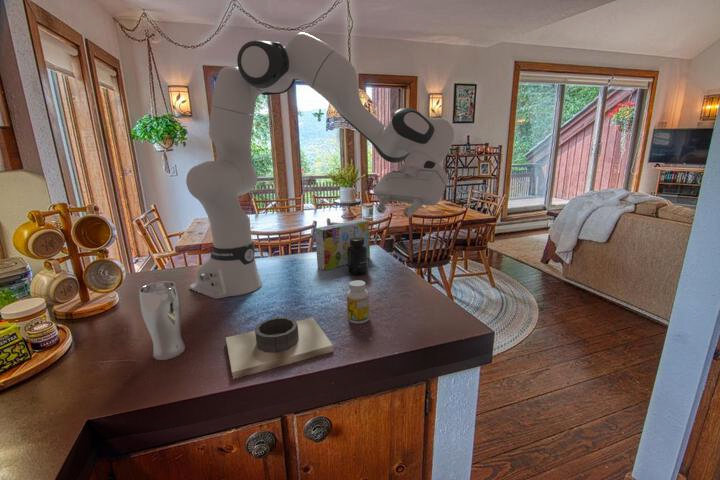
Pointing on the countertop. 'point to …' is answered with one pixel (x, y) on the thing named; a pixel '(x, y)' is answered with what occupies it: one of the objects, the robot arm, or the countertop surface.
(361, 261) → the supplement bottle
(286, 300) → the countertop surface
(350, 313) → the supplement bottle
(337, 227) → the snack box
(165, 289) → the beer glass
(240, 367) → the collar stand
